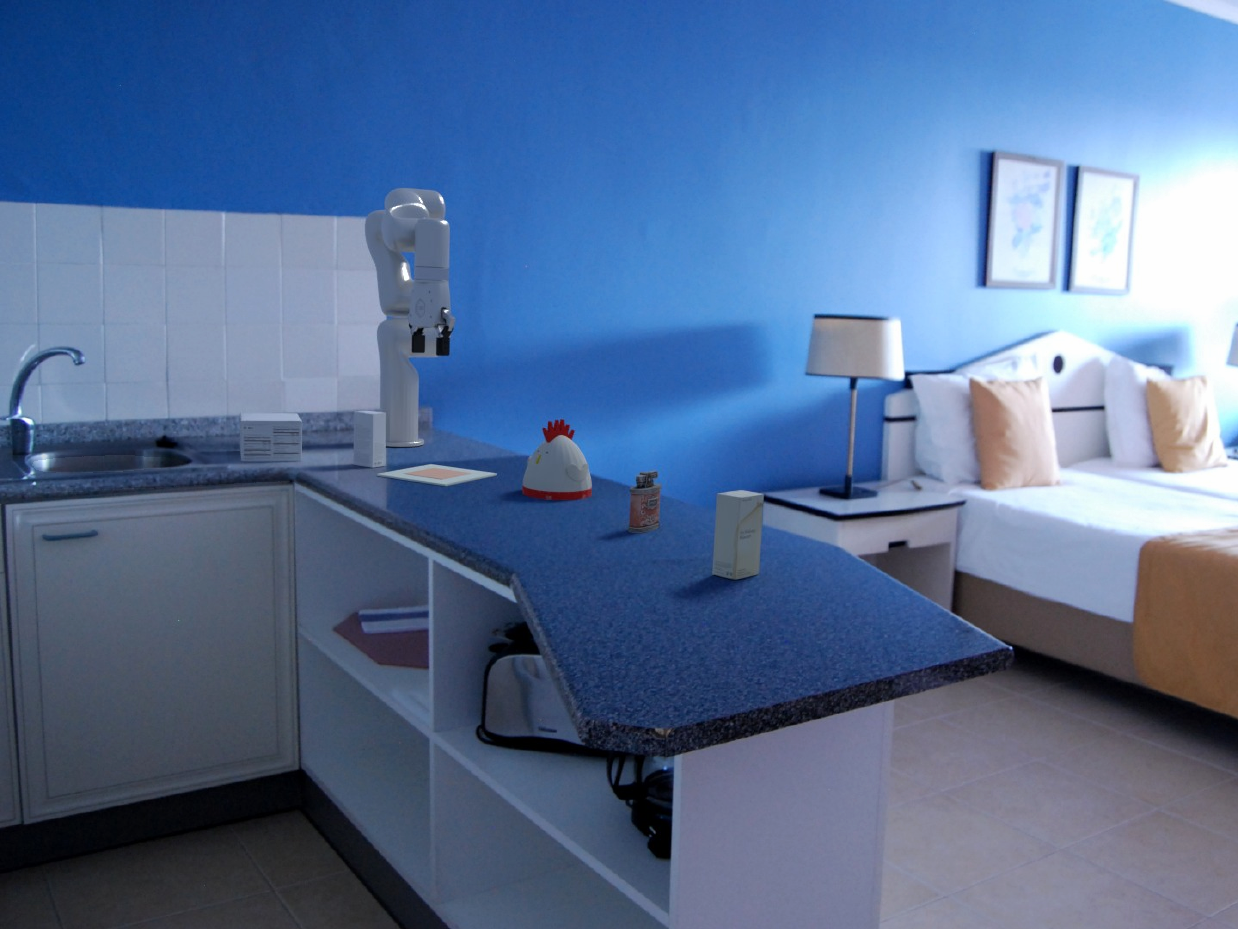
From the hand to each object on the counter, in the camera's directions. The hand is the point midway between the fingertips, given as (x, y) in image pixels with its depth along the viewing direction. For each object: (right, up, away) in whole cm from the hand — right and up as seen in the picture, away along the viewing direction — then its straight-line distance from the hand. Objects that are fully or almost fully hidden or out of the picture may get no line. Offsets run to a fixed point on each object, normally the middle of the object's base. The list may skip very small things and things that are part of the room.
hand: (430, 354), depth 238 cm
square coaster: (+3, -27, -9) cm, 28 cm away
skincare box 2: (+59, -41, -80) cm, 108 cm away
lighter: (+46, -36, -52) cm, 78 cm away
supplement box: (-38, -23, +7) cm, 45 cm away
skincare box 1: (-14, -25, 0) cm, 28 cm away
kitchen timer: (+29, -31, -23) cm, 48 cm away
